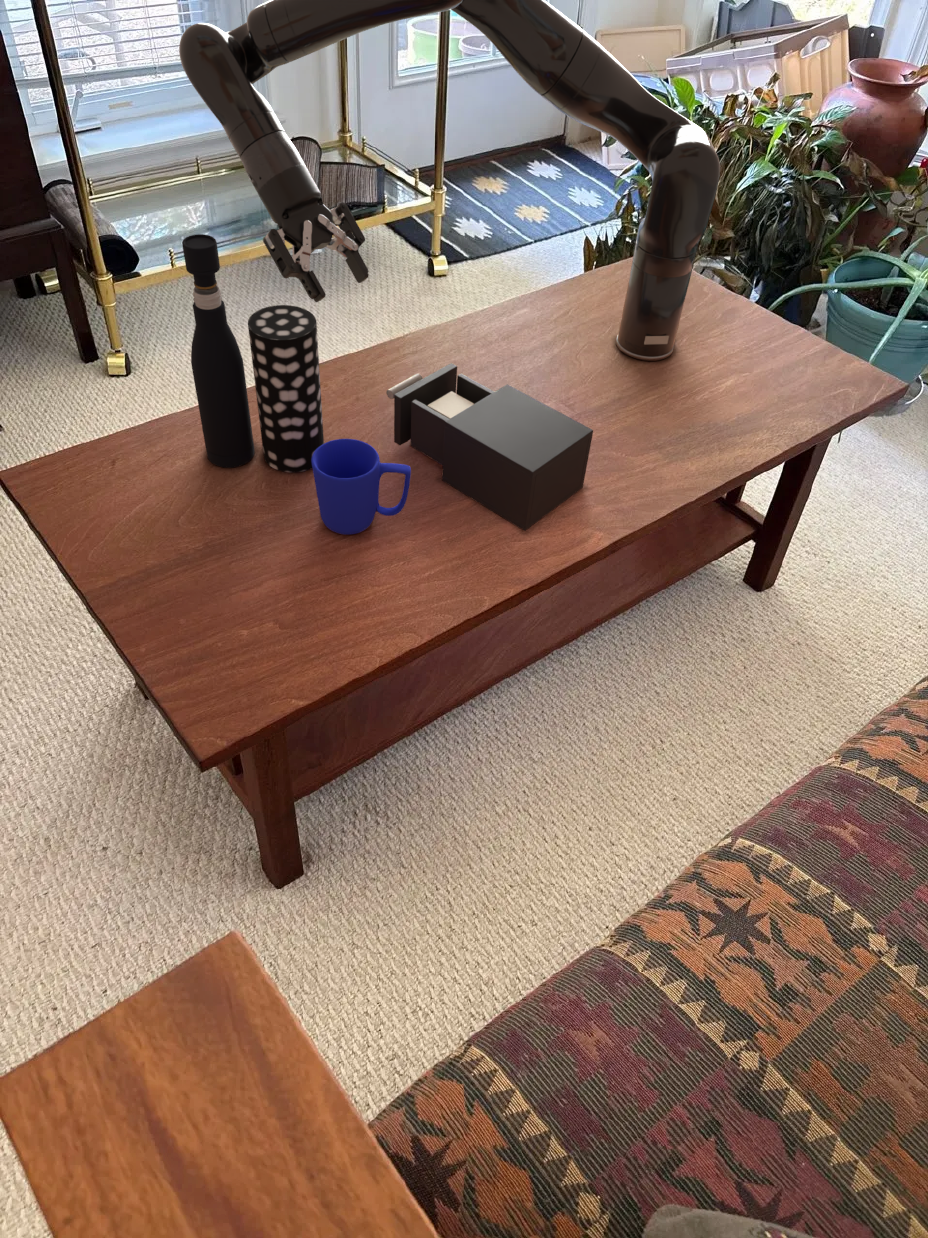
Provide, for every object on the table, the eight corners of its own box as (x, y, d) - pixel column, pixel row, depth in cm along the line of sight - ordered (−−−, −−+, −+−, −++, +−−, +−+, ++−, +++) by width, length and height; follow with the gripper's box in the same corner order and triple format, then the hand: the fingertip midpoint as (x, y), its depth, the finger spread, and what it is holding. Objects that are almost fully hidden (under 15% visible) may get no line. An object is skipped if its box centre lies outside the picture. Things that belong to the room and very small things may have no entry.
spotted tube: (292, 428, 135) (280, 298, 120) (336, 451, 132) (330, 320, 117) (250, 456, 130) (233, 323, 116) (296, 480, 127) (284, 347, 112)
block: (425, 435, 132) (427, 405, 129) (449, 420, 135) (451, 390, 131) (452, 451, 130) (454, 420, 127) (476, 436, 133) (478, 405, 129)
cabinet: (441, 480, 129) (444, 421, 122) (501, 441, 136) (507, 383, 129) (524, 531, 123) (532, 472, 116) (582, 487, 129) (593, 429, 122)
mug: (407, 545, 120) (409, 483, 112) (312, 540, 119) (307, 477, 112) (411, 503, 125) (413, 441, 118) (320, 498, 125) (315, 435, 118)
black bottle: (215, 472, 127) (179, 258, 105) (201, 446, 131) (163, 233, 109) (261, 461, 129) (235, 248, 108) (245, 435, 133) (217, 224, 111)
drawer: (372, 429, 134) (372, 381, 129) (427, 397, 141) (429, 350, 135) (466, 485, 127) (469, 438, 121) (519, 449, 133) (525, 402, 127)
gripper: (249, 178, 121) (316, 296, 125) (332, 150, 129) (393, 261, 132) (228, 206, 127) (292, 317, 131) (308, 177, 135) (367, 283, 139)
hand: (343, 289), depth 132 cm, fingers open, 7 cm apart
